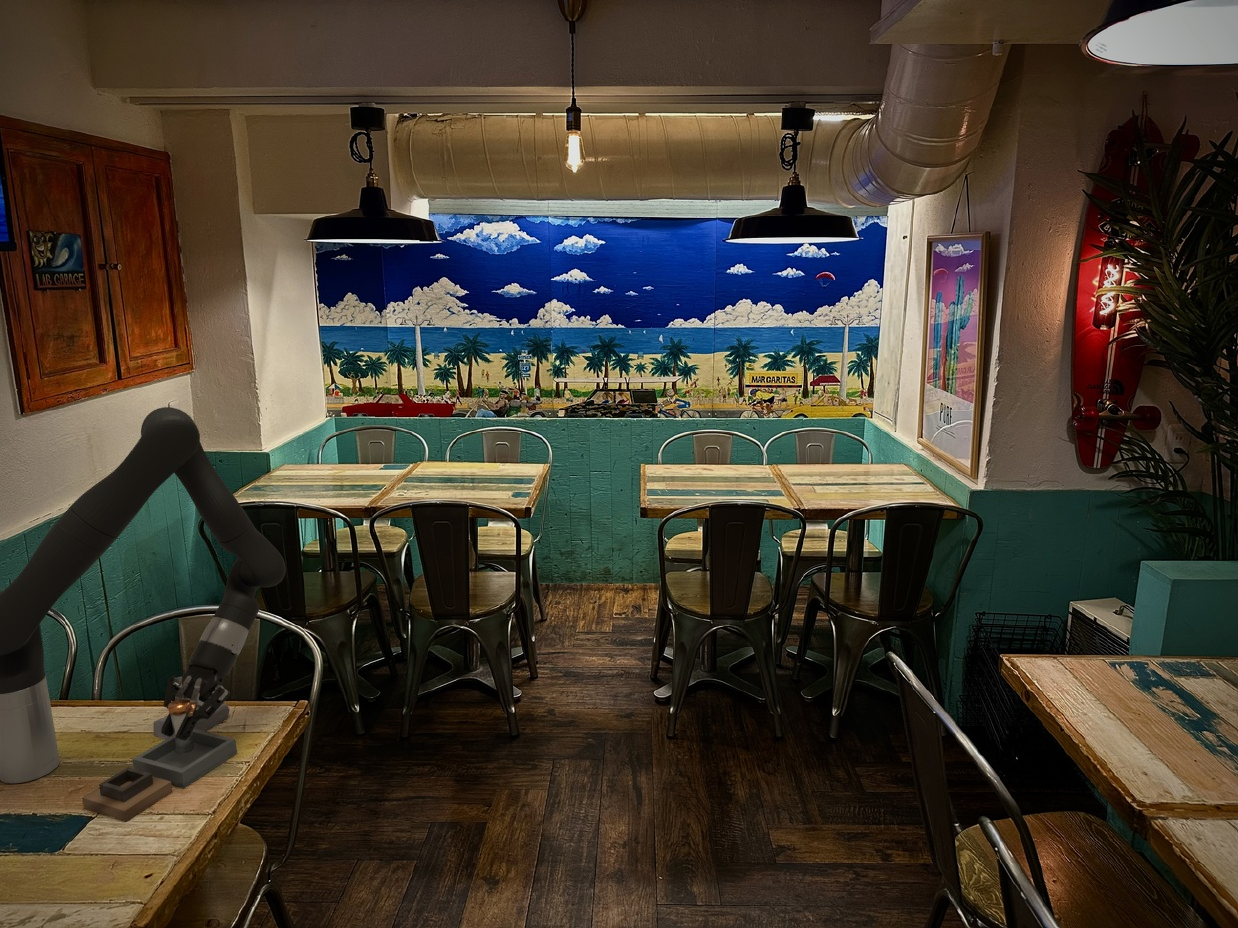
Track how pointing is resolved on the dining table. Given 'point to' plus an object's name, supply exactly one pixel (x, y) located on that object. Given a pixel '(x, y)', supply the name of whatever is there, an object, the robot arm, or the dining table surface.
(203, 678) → the robot arm
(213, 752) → the tray
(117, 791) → the bracket
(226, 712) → the stone block
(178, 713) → the pin
